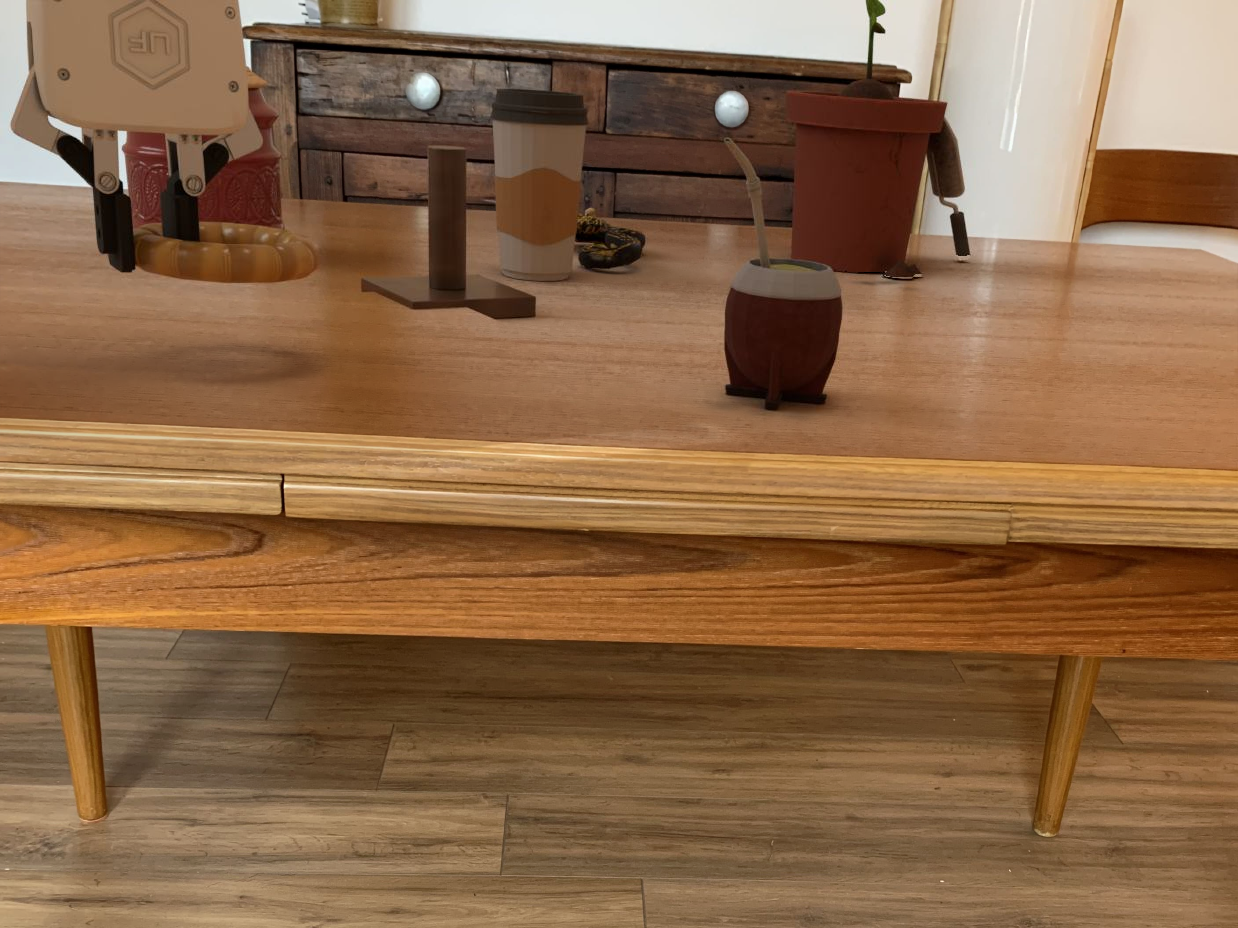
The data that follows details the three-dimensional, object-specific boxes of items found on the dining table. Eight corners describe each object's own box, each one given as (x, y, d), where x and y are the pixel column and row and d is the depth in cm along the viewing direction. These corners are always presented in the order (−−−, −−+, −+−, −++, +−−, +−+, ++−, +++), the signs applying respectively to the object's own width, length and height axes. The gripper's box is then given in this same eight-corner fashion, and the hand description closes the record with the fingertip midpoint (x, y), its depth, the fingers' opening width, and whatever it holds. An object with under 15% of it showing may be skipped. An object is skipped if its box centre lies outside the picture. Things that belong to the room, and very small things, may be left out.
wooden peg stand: (412, 322, 97) (410, 153, 92) (361, 297, 104) (356, 139, 99) (536, 316, 102) (539, 155, 97) (478, 293, 109) (479, 142, 105)
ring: (153, 286, 69) (150, 246, 68) (106, 253, 77) (103, 217, 76) (347, 285, 75) (346, 248, 74) (284, 255, 82) (284, 221, 82)
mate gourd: (834, 390, 86) (864, 140, 80) (828, 420, 79) (860, 148, 73) (719, 379, 87) (739, 130, 81) (702, 407, 80) (723, 137, 73)
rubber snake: (636, 216, 120) (526, 217, 122) (637, 270, 122) (529, 270, 123) (660, 204, 137) (564, 204, 138) (661, 251, 139) (566, 251, 140)
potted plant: (770, 246, 147) (793, -9, 137) (968, 260, 146) (1007, 6, 136) (770, 270, 131) (797, -17, 120) (993, 287, 130) (1040, 0, 120)
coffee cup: (574, 268, 124) (581, 92, 118) (589, 284, 117) (597, 97, 110) (484, 265, 122) (485, 86, 116) (493, 281, 115) (495, 91, 108)
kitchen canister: (184, 269, 111) (164, 32, 103) (102, 246, 118) (79, 24, 111) (315, 258, 120) (306, 40, 112) (232, 238, 127) (218, 32, 120)
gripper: (-45, -147, 59) (2, 281, 67) (310, -95, 68) (316, 280, 75) (-68, -138, 65) (-23, 256, 72) (263, -91, 73) (273, 258, 81)
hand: (150, 265), depth 74 cm, fingers closed on ring, 2 cm apart
